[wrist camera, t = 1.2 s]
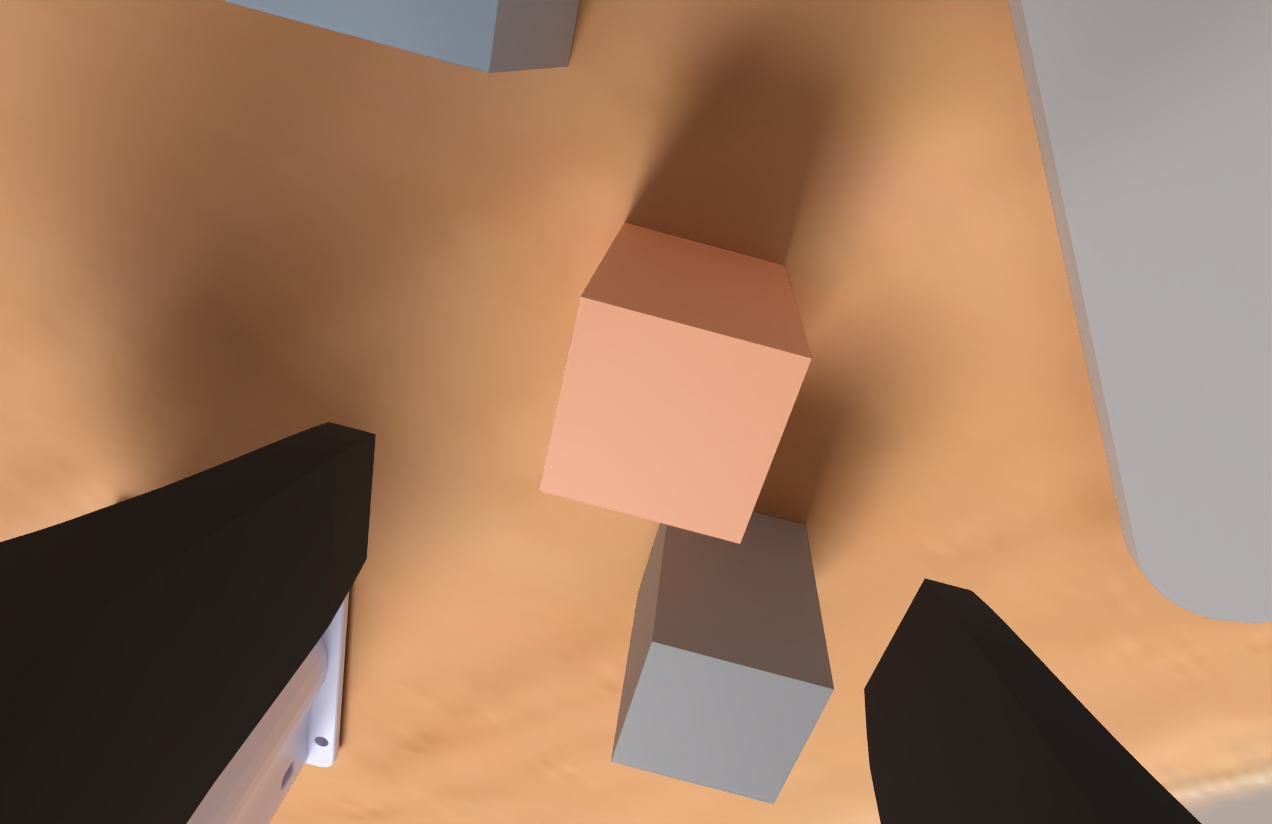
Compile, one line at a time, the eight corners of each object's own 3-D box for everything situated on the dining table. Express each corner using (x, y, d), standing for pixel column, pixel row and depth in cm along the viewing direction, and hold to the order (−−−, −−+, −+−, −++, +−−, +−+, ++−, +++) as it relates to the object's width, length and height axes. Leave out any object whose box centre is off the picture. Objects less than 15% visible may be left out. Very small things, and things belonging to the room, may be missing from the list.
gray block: (761, 625, 22) (773, 804, 17) (637, 592, 22) (611, 761, 17) (805, 524, 21) (833, 689, 15) (670, 488, 21) (652, 641, 15)
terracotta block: (735, 407, 19) (740, 543, 14) (591, 369, 19) (539, 490, 14) (784, 265, 17) (811, 358, 12) (624, 222, 17) (580, 296, 12)
